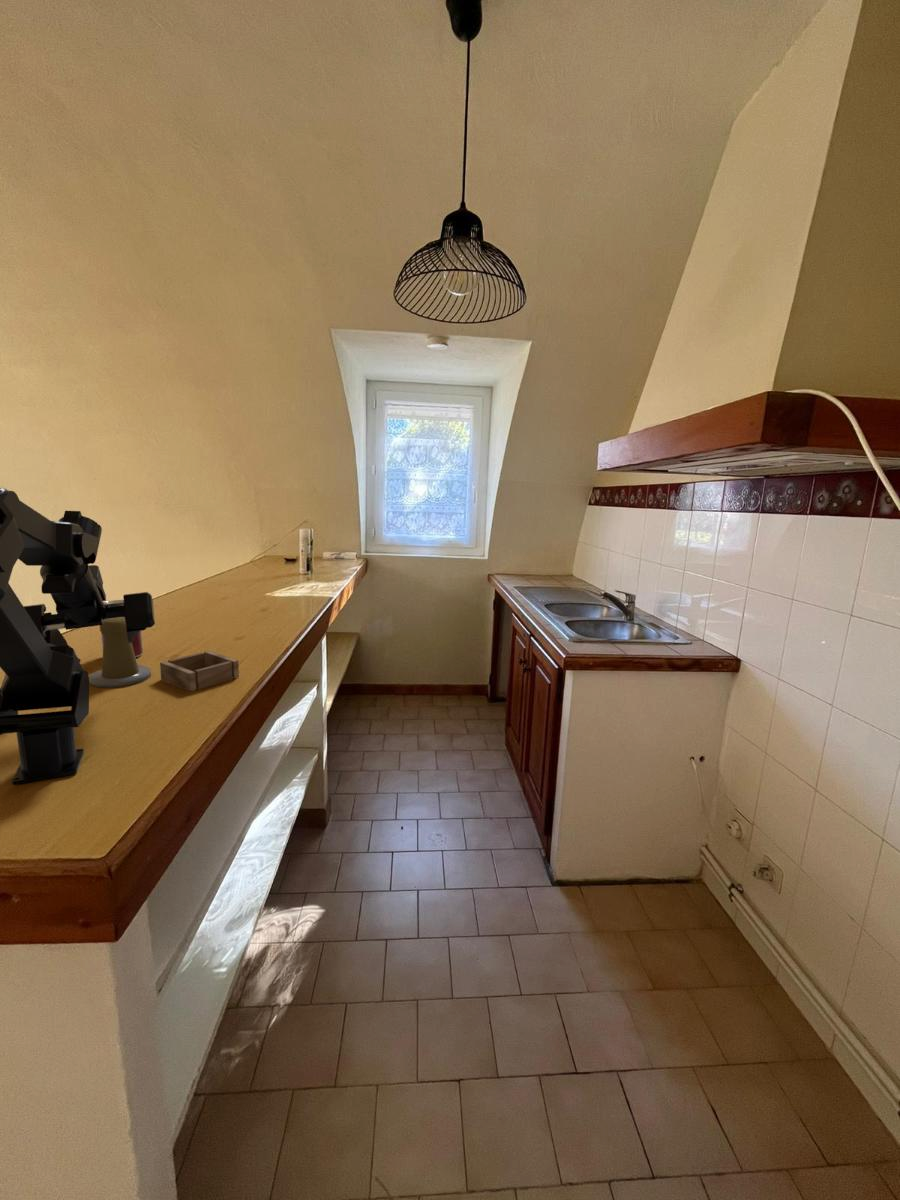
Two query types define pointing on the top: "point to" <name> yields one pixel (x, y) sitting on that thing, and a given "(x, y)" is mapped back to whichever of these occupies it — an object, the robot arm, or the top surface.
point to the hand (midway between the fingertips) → (99, 645)
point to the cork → (117, 650)
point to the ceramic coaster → (99, 681)
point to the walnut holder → (199, 670)
